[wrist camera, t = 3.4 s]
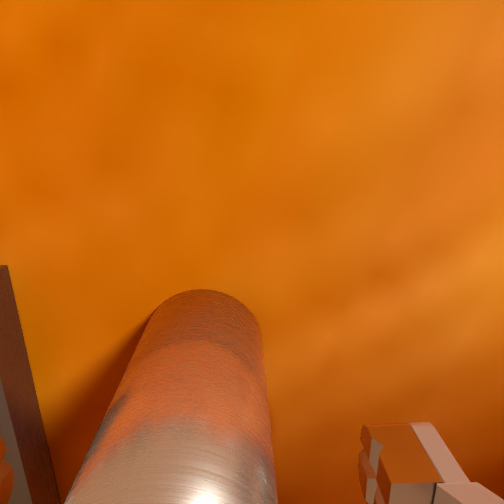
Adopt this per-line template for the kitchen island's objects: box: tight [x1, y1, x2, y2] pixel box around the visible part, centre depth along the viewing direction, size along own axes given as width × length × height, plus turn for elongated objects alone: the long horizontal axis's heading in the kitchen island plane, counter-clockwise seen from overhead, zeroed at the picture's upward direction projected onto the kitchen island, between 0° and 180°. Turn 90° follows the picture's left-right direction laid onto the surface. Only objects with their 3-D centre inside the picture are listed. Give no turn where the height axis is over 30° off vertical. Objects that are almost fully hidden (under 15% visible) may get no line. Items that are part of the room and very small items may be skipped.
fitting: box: [64, 289, 278, 504], centre depth 9 cm, size 4×4×10 cm
